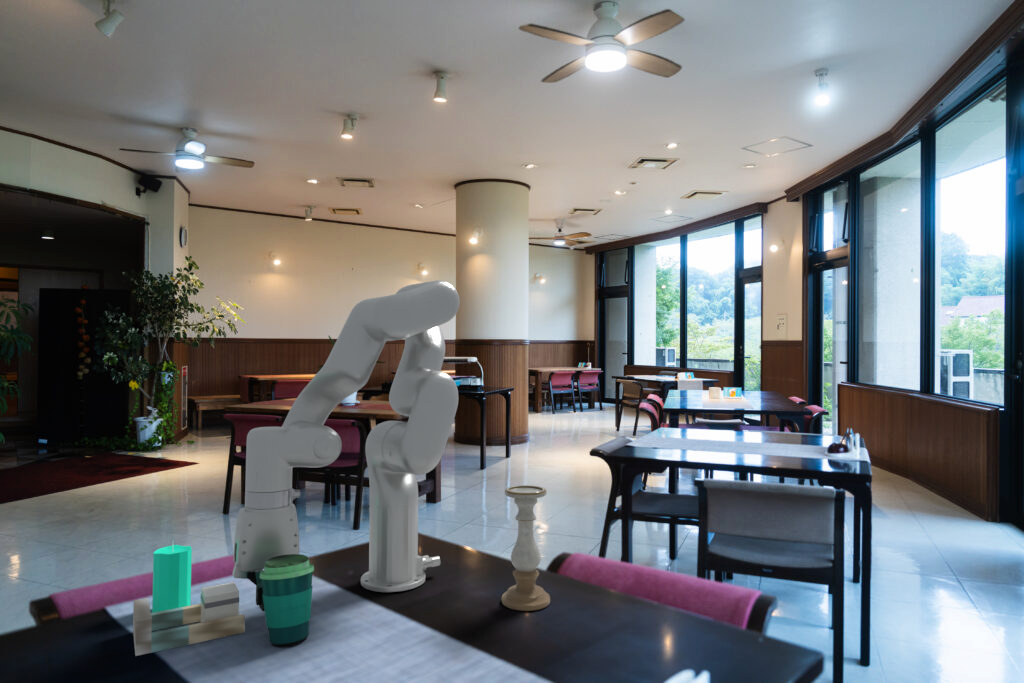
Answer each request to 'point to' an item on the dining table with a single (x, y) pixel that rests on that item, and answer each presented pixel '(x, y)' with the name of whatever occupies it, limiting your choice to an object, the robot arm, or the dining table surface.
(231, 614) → the striped cream block
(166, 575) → the candle
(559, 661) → the dining table surface
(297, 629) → the cup
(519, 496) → the candle holder
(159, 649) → the guide channel
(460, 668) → the dining table surface
